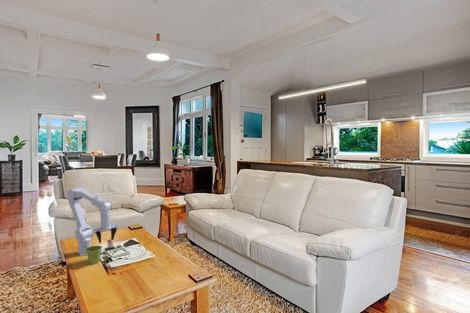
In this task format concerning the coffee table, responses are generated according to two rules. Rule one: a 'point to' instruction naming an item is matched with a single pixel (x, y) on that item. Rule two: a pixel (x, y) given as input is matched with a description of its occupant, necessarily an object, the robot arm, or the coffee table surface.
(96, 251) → the plant pot
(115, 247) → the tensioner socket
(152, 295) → the coffee table surface
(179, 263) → the coffee table surface
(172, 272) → the coffee table surface
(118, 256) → the tray
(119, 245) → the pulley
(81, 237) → the robot arm
